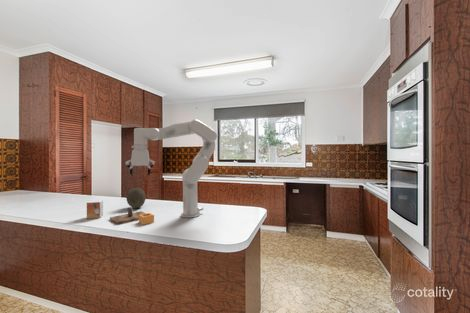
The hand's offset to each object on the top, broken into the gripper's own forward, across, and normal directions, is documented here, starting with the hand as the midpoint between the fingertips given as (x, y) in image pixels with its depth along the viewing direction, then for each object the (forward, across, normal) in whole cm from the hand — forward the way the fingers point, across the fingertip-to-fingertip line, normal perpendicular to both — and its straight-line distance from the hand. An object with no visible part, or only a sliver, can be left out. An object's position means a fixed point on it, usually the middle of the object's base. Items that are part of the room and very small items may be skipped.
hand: (140, 175), depth 139 cm
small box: (+29, -30, +16) cm, 44 cm away
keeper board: (+28, -7, +6) cm, 30 cm away
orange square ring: (+28, +4, -5) cm, 29 cm away
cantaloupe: (+29, -7, +35) cm, 46 cm away
